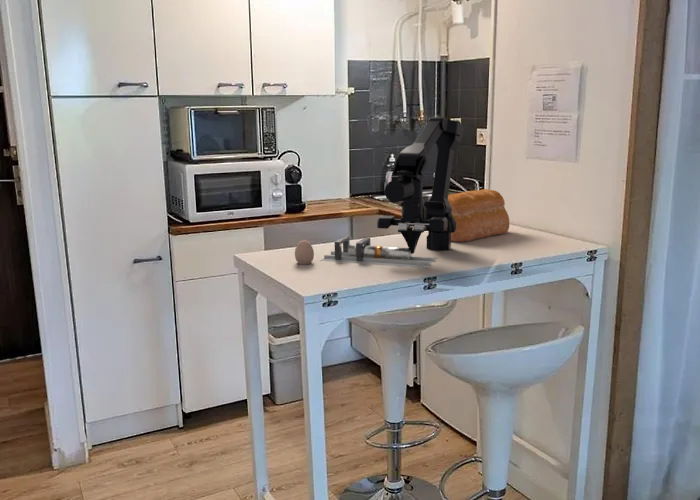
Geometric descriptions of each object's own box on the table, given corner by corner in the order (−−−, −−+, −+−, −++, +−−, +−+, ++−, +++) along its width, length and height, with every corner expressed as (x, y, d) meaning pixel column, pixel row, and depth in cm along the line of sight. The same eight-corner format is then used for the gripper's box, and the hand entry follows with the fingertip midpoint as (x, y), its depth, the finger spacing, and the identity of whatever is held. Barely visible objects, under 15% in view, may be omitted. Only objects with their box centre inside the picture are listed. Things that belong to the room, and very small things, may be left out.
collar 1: (349, 253, 195) (349, 236, 194) (339, 260, 188) (339, 242, 187) (345, 253, 196) (344, 236, 194) (334, 259, 188) (334, 241, 187)
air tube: (411, 261, 186) (412, 249, 187) (407, 259, 183) (409, 247, 183) (351, 257, 193) (352, 245, 193) (347, 255, 189) (348, 243, 190)
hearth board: (436, 260, 188) (436, 255, 188) (426, 270, 177) (426, 264, 177) (335, 253, 199) (335, 248, 199) (320, 263, 188) (320, 257, 188)
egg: (300, 269, 182) (299, 243, 180) (292, 265, 186) (290, 239, 185) (317, 266, 185) (316, 240, 183) (308, 262, 189) (307, 237, 187)
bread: (430, 238, 220) (431, 192, 216) (483, 228, 235) (484, 185, 232) (460, 244, 209) (461, 196, 206) (514, 233, 225) (515, 188, 221)
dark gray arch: (370, 255, 193) (370, 237, 192) (361, 261, 186) (361, 243, 184) (365, 254, 193) (365, 237, 192) (356, 261, 186) (356, 243, 185)
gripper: (451, 194, 185) (451, 248, 188) (387, 193, 191) (388, 246, 194) (443, 199, 175) (443, 257, 178) (376, 198, 181) (377, 254, 184)
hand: (412, 253), depth 184 cm, fingers closed
